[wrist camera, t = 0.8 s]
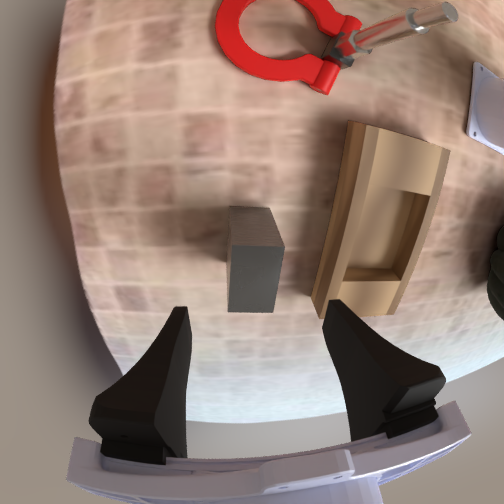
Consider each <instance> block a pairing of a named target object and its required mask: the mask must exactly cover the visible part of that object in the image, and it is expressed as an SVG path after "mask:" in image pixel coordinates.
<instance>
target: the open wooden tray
mask: <svg viewBox="0 0 504 504" xmlns="http://www.w3.org/2000/svg"><path fill="white" fill-rule="evenodd" d="M449 155H450V150H448V149H445V148H442V147H440V146H437V145H434V144H431V143H429V142H426V141H423V140H420V139H417V138H413V137H410V136H407V135H404V134H400V133H397V132H393V131H390V130H386V129H382V128H379V127H375V126H371V125H367V124H362V123H358V122H354V121H349V120H348V125H347V132H346V138H345V144H344V150H343V156H342V162H341V167H340V172H339V178H338V183H337V188H336V193H335V198H334V203H333V208H332V212H331V217H330V221H329V226H328V230H327V235H326V239H325V243H324V248H323V252H322V256H321V260H320V264H319V268H318V272H317V276H316V280H315V283H314V287H313V291H312V295H311V299H312V302H313V304H314V307H315V309H316V312H317V314H318V317H319V319H324V318H325V314H326V310H327V306H328V302H329V300H333V299H340V300H341V301H342V302H344V303H345V304H346V305H347V306H348V307H349V308H350V309H351V310H352V311H353V312H354V313H355V314H356V315H357V316H358V317H367V316H381V315H393V314H394V313H395V311H396V309H397V307H398V304H399V302H400V300H401V298H402V296H403V294H404V291H405V289H406V287H407V285H408V282H409V280H410V278H411V275H412V273H413V270H414V268H415V265H416V263H417V260H418V258H419V255H420V253H421V250H422V247H423V245H424V242H425V239H426V236H427V233H428V230H429V227H430V224H431V221H432V218H433V215H434V212H435V209H436V205H437V202H438V199H439V195H440V192H441V188H442V184H443V180H444V176H445V172H446V168H447V164H448V160H449Z"/></svg>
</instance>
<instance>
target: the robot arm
mask: <svg viewBox="0 0 504 504" xmlns="http://www.w3.org/2000/svg"><path fill="white" fill-rule="evenodd" d="M480 68H481V69H480ZM466 133H467V136H469V137H470V138H473V139H475V140H477V141H478V142H480V143H482V144H484V145H486V146H488V147H490V148H492V149H494V150H495V151H497V152H499V153H501V154H503V155H504V79H500V78H499V77H497V76H496V75H495V74H494V73H492V72H491V71H490V70H488V69H487V68H486V67H484V66H483V65H482V64H480V63H479V62H474V64H473V80H472V92H471V102H470V110H469V117H468V124H467V130H466ZM473 133H474V134H473ZM322 329H323V334H324V338H325V342H326V345H327V348H328V351H329V353H330V356H331V358H332V361H333V364H334V366H335V369H336V371H337V374H338V377H339V380H340V383H341V386H342V391H343V395H344V399H345V404H346V409H347V414H348V420H349V426H350V435H351V442H349V443H345V444H340V445H336V446H331V447H326V448H321V449H316V450H311V451H304V452H298V453H291V454H283V455H275V456H265V457H254V458H253V457H252V458H235V459H191V458H187V445H186V389H187V381H188V374H189V367H190V360H191V353H192V332H191V326H190V320H189V314H188V308H187V306H182V307H174V308H173V310H172V312H171V314H170V316H169V318H168V320H167V321H166V323H165V325H164V326H163V328H162V330H161V331H160V333H159V334H158V336H157V337H156V339H155V340H154V342H153V343H152V345H151V346H150V347H149V349H148V350H147V351H146V353H145V354H144V355H143V356H142V357H141V359H140V360H139V361H138V362H137V363H136V364H135V365H134V366H133V367H132V368H131V369H130V370H129V371H128V372H127V373H126V374H125V375H124V376H123V377H122V378H120V379H119V380H118V381H117V382H116V383H115V384H114V385H112V386H111V387H110V388H108V389H107V390H105V391H104V392H102V393H101V394H99V395H98V396H96V398H95V401H94V403H93V405H92V409H91V413H90V417H89V424H90V426H91V427H92V428H93V429H94V430H95V431H96V432H97V433H98V434H99V435H100V436H101V437H102V444H100V443H98V442H96V441H92V440H87V439H83V438H79V437H75V438H74V442H73V447H72V451H71V456H70V461H69V467H68V473H67V478H66V480H67V481H68V482H70V483H72V484H73V485H75V486H77V487H79V488H81V489H83V490H85V491H87V492H89V493H91V494H95V495H98V496H102V497H106V498H110V499H114V500H118V501H123V502H127V503H132V504H383V500H382V496H381V493H380V489H379V485H381V484H384V483H386V482H389V481H391V480H394V479H396V478H398V477H401V476H403V475H405V474H407V473H410V472H412V471H414V470H416V469H418V468H420V467H422V466H424V465H426V464H428V463H430V462H432V461H434V460H436V459H438V458H440V457H442V456H444V455H445V454H447V453H449V452H450V451H452V450H453V449H454V448H456V447H457V446H458V445H460V444H461V443H462V442H463V441H464V440H466V439H467V438H468V437H469V436H471V434H472V433H471V431H470V429H469V427H468V425H467V423H466V421H465V419H464V417H463V415H462V413H461V411H460V409H459V407H458V405H457V403H456V401H452V402H450V403H447V404H446V405H443V406H441V407H439V408H438V409H435V407H434V405H435V404H436V401H435V399H434V397H435V396H436V395H437V394H438V393H439V391H440V390H441V389H442V388H443V386H444V384H445V382H446V378H445V376H444V374H443V373H442V371H441V369H440V368H439V366H436V365H434V364H431V363H428V362H425V361H423V360H421V359H418V358H416V357H414V356H412V355H410V354H408V353H406V352H404V351H403V350H401V349H399V348H398V347H396V346H394V345H393V344H391V343H390V342H388V341H387V340H386V339H384V338H383V337H381V336H380V335H379V334H378V333H376V332H375V331H374V330H373V329H371V328H370V327H369V326H368V325H367V324H366V323H365V322H363V321H362V320H361V319H360V318H359V317H358V316H357V315H356V314H355V313H354V312H353V311H352V310H351V309H350V308H349V307H348V306H347V305H346V304H345V303H344V302H342V301H341V300H340V299H333V300H329V302H328V306H327V310H326V314H325V318H324V322H323V326H322Z"/></svg>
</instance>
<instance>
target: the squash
mask: <svg viewBox="0 0 504 504" xmlns="http://www.w3.org/2000/svg"><path fill="white" fill-rule="evenodd" d="M497 246H498V248H499V250H496V251H495V252H494V253H493V254H492V256H491V259H490V264H491V267H492V268H491V271H490V274H489V277H488V282H487V293H488V298H489V300H490V303H491V305H492V307H493V308H494V310H495V312H496V313H497V314H498V316H499V317H501V318H502V319H503V320H504V227H502V228H501V230H500V231H499V233H498V235H497Z"/></svg>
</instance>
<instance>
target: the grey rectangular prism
mask: <svg viewBox="0 0 504 504" xmlns="http://www.w3.org/2000/svg"><path fill="white" fill-rule="evenodd" d="M284 249H285V246H284V243H283V241H282V238H281V236H280V233H279V231H278V228H277V225H276V223H275V220H274V218H273V215H272V213H271V210H270V208H259V207H240V206H230V211H229V227H228V243H227V261H226V268H227V302H228V312H250V313H273V310H274V305H275V300H276V294H277V289H278V283H279V278H280V272H281V266H282V260H283V255H284Z"/></svg>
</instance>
